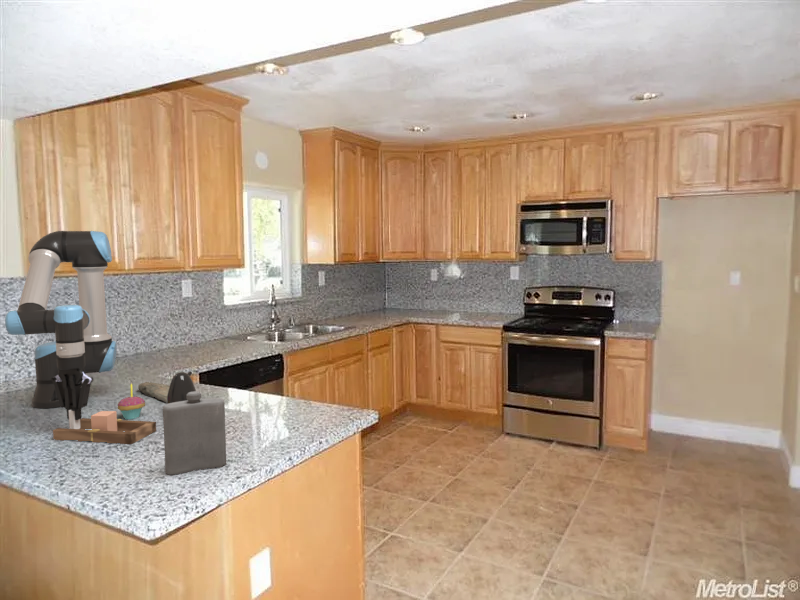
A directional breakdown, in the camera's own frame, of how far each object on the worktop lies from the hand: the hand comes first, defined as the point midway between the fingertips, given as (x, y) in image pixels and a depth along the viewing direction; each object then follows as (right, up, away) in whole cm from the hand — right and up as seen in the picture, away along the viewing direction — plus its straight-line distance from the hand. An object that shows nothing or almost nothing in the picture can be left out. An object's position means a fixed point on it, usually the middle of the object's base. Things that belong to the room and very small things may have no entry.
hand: (75, 429), depth 166 cm
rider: (+10, -1, -2) cm, 11 cm away
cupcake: (+9, 0, +17) cm, 19 cm away
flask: (+48, -4, -27) cm, 55 cm away
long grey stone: (+8, +2, +44) cm, 44 cm away
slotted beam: (+11, -1, -2) cm, 11 cm away
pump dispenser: (+26, 0, +19) cm, 32 cm away
